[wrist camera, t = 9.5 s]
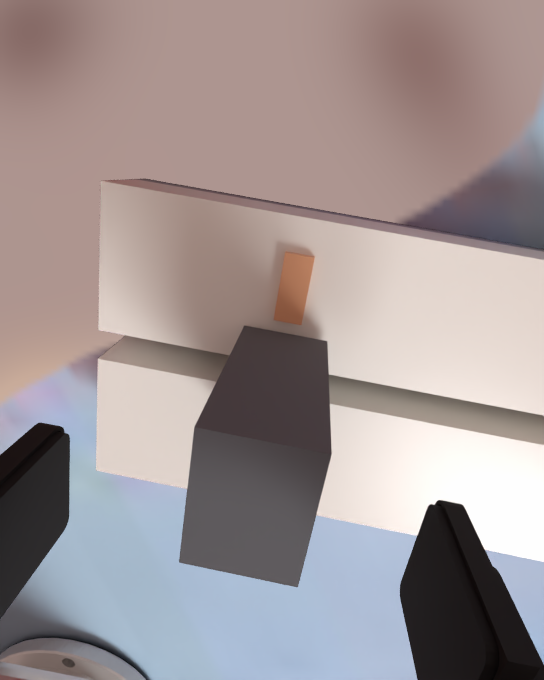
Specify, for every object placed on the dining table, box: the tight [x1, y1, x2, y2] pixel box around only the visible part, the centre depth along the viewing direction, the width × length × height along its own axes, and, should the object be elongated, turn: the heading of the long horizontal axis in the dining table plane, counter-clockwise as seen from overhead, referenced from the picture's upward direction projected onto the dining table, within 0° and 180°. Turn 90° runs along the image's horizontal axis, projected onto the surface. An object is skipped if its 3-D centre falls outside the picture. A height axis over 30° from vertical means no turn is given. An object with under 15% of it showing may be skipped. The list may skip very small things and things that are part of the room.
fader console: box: [96, 179, 544, 562], centre depth 18 cm, size 12×26×4 cm, turn 81°
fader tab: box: [179, 325, 332, 587], centre depth 15 cm, size 4×3×10 cm
